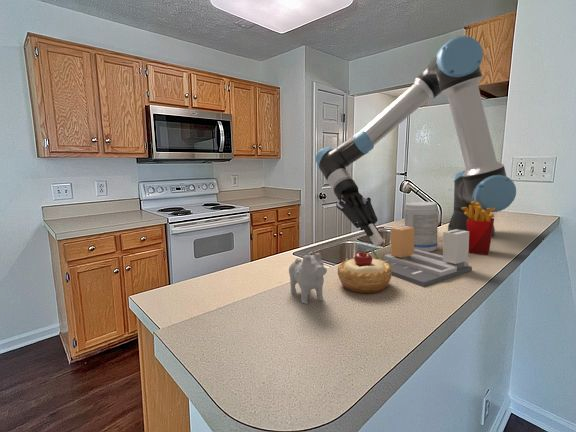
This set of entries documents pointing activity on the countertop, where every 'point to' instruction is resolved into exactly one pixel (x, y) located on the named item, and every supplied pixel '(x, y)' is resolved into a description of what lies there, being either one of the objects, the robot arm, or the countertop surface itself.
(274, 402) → the countertop surface
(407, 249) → the fader knob
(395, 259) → the console board
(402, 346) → the countertop surface
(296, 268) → the dog figurine
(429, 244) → the supplement tub
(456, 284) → the countertop surface
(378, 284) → the pastry
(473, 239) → the french fries
